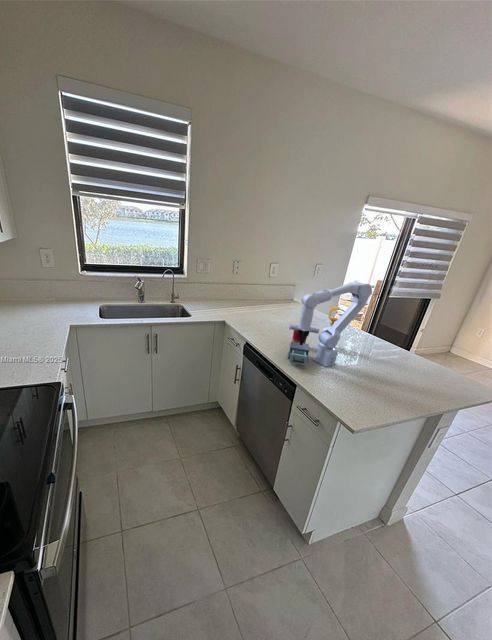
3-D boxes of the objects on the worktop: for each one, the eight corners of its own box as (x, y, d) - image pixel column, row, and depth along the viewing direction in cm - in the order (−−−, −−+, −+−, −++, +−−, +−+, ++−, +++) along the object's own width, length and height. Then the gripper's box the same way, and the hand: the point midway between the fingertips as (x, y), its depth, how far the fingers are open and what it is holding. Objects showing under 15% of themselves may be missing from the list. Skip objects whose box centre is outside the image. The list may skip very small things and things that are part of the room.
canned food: (301, 349, 168) (305, 331, 163) (289, 345, 172) (292, 328, 167) (306, 345, 173) (310, 328, 169) (294, 342, 177) (297, 325, 173)
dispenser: (306, 361, 152) (309, 350, 149) (288, 358, 154) (290, 347, 151) (306, 355, 160) (309, 344, 158) (289, 352, 162) (291, 341, 160)
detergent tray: (305, 368, 142) (307, 359, 140) (288, 365, 144) (290, 356, 142) (305, 358, 153) (307, 350, 151) (289, 356, 155) (291, 347, 153)
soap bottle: (335, 350, 169) (346, 310, 159) (319, 348, 171) (329, 308, 160) (333, 345, 177) (343, 306, 167) (318, 343, 179) (327, 304, 168)
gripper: (291, 319, 141) (286, 344, 146) (321, 323, 138) (315, 349, 143) (291, 315, 147) (287, 340, 153) (320, 319, 144) (315, 344, 150)
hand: (301, 344), depth 148 cm, fingers closed
